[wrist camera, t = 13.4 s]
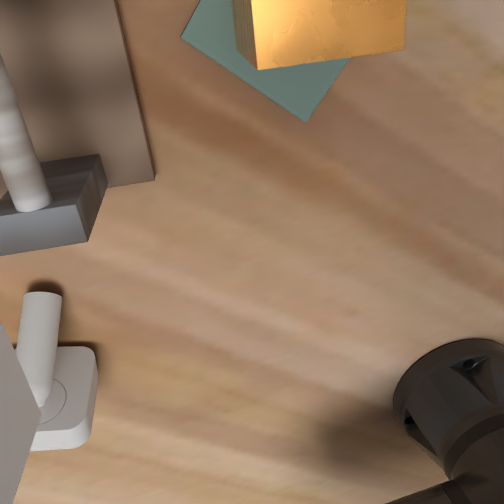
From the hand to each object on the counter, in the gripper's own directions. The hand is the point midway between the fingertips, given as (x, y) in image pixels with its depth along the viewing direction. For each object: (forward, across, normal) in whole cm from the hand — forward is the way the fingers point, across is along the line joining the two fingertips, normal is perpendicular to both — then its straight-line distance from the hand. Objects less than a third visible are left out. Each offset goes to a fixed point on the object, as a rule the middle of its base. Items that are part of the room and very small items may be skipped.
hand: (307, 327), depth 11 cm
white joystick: (+28, +18, +20) cm, 39 cm away
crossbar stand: (+28, +12, -3) cm, 30 cm away
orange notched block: (+27, -6, -6) cm, 28 cm away
